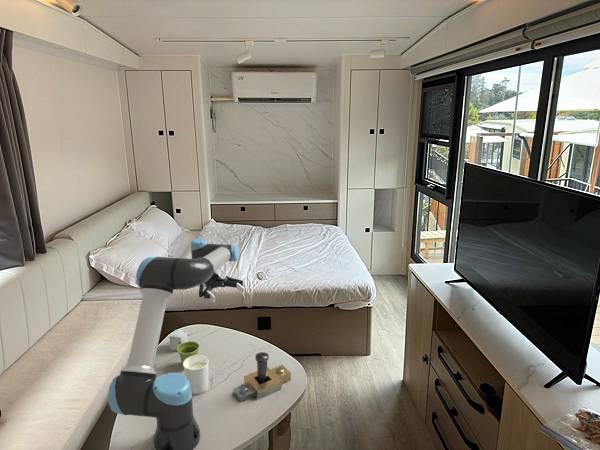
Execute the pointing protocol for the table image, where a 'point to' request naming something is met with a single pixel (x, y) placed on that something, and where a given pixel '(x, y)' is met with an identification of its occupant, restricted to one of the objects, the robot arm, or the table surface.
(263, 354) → the black pin
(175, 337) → the skincare box
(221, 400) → the table surface
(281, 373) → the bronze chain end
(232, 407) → the table surface
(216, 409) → the table surface
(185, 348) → the plant pot
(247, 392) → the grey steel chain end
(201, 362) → the candle holder
